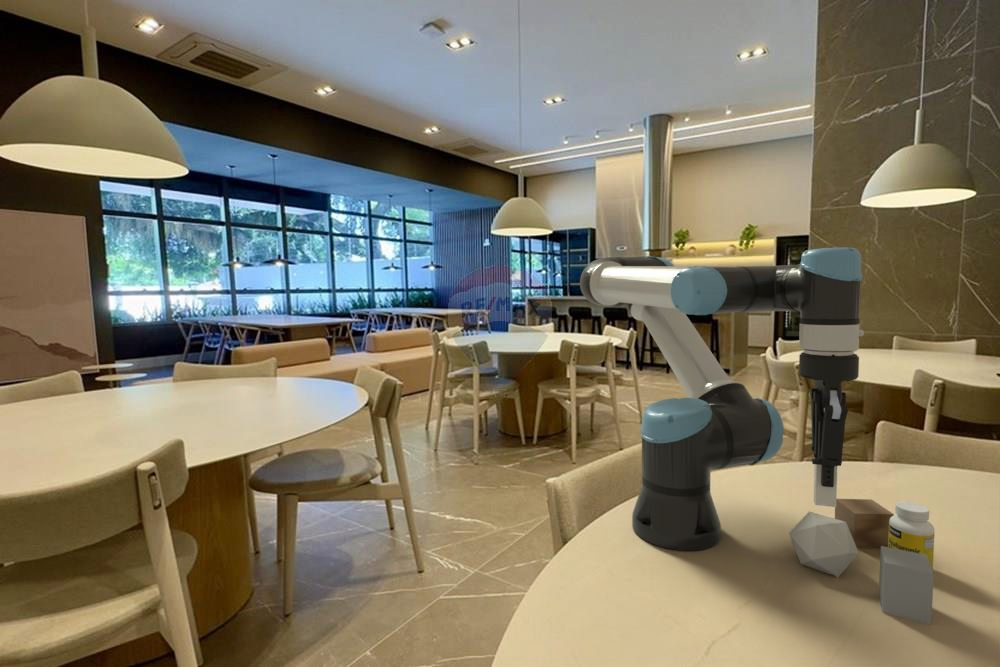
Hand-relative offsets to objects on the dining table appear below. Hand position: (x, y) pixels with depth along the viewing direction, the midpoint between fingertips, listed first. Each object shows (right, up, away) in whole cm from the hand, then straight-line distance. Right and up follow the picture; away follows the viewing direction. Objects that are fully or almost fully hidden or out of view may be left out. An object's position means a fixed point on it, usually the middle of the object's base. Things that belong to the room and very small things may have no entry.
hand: (824, 504), depth 78 cm
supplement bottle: (+13, -10, 0) cm, 17 cm away
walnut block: (+12, -9, +9) cm, 18 cm away
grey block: (+5, -11, -9) cm, 15 cm away
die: (0, -10, +1) cm, 10 cm away
